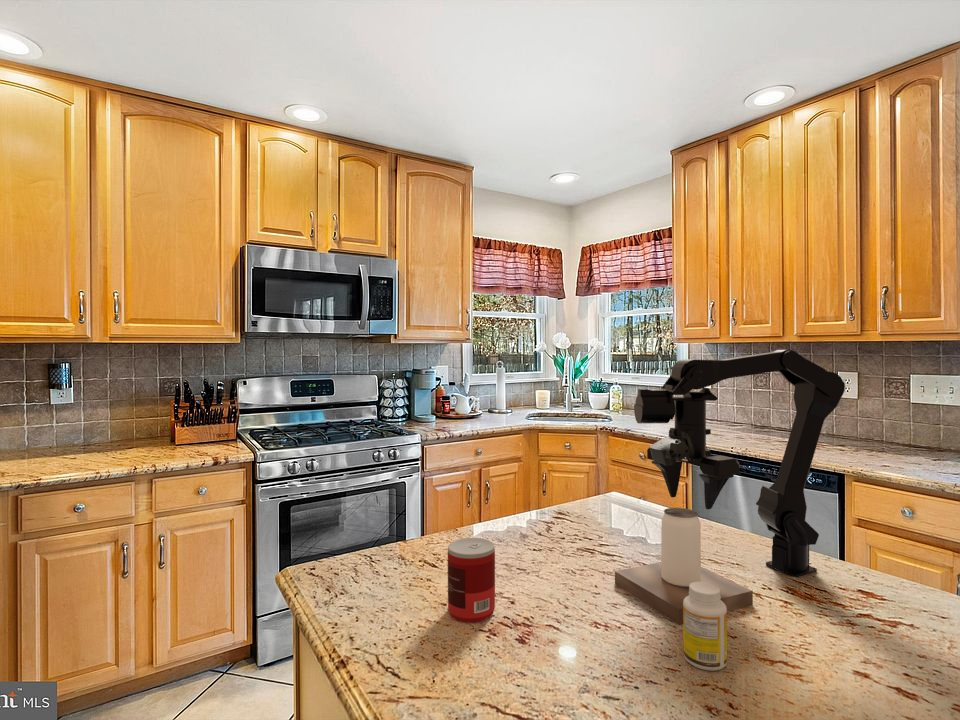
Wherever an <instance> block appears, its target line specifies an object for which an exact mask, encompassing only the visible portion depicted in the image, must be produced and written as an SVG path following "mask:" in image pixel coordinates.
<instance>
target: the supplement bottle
mask: <svg viewBox="0 0 960 720" xmlns="http://www.w3.org/2000/svg"><path fill="white" fill-rule="evenodd" d="M720 599H721V596H720V589H719V588H718V587H717V586H716V585H714V584H711V583H707V582H693V583H691V584H690V585H689V595H688V596H687V597H685V599H684V601H683V624H682V626H683V627H682V628H683V629H682V631H683V632H682V633H683V635H682V636H683V639H682V640H683V641H682V642H683V645H682V646H683V656H684V659H685V660H686V661H687V662H688V663H689V664H690V665H691V666H693V667H695V668H697V669H700V670H704V671H709V672H711V671H713V672H714V671H720V670H722V669H724V668H725V667H726V665H727V663H728V651H727V650H728V645H727V644H728V643H727V642H728V641H727V639H728V631H727V630H728V625H727V624H728V622H727V621H728V617H727V614H728V612H727V608H726V605H725V604H724V603H723V602H722V601H721V600H720Z"/></svg>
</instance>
